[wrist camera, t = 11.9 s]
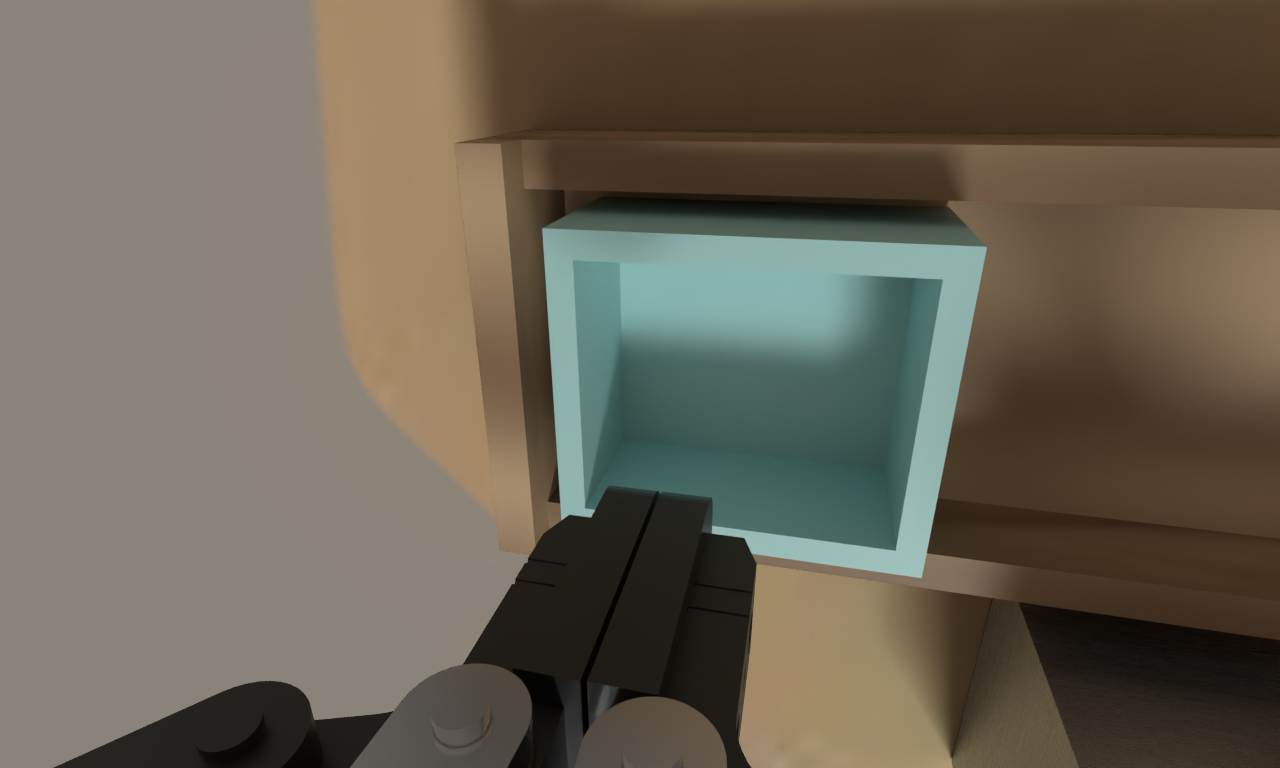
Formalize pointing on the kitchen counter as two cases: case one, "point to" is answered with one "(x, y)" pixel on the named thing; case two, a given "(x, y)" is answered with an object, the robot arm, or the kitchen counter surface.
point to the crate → (764, 365)
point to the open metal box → (1117, 694)
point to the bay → (982, 345)
